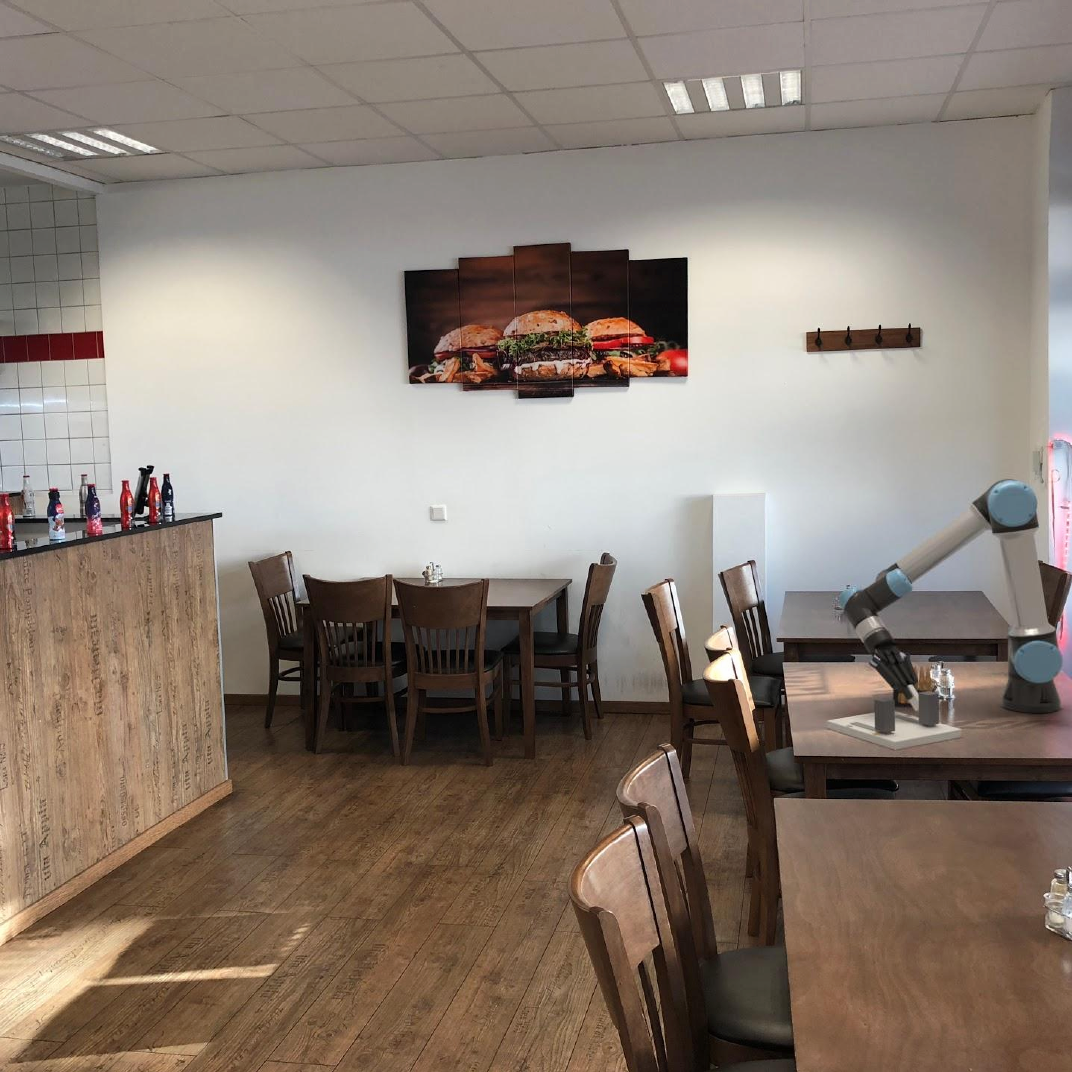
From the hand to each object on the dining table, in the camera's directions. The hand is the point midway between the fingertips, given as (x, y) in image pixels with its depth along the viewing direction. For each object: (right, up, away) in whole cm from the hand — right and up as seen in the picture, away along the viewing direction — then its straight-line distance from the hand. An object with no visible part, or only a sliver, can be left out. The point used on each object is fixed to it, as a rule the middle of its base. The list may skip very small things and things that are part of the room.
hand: (920, 708), depth 295 cm
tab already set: (-12, -5, -8) cm, 15 cm away
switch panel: (-7, -6, 0) cm, 10 cm away
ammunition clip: (+7, -4, +27) cm, 28 cm away
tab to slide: (+1, -4, -2) cm, 5 cm away
